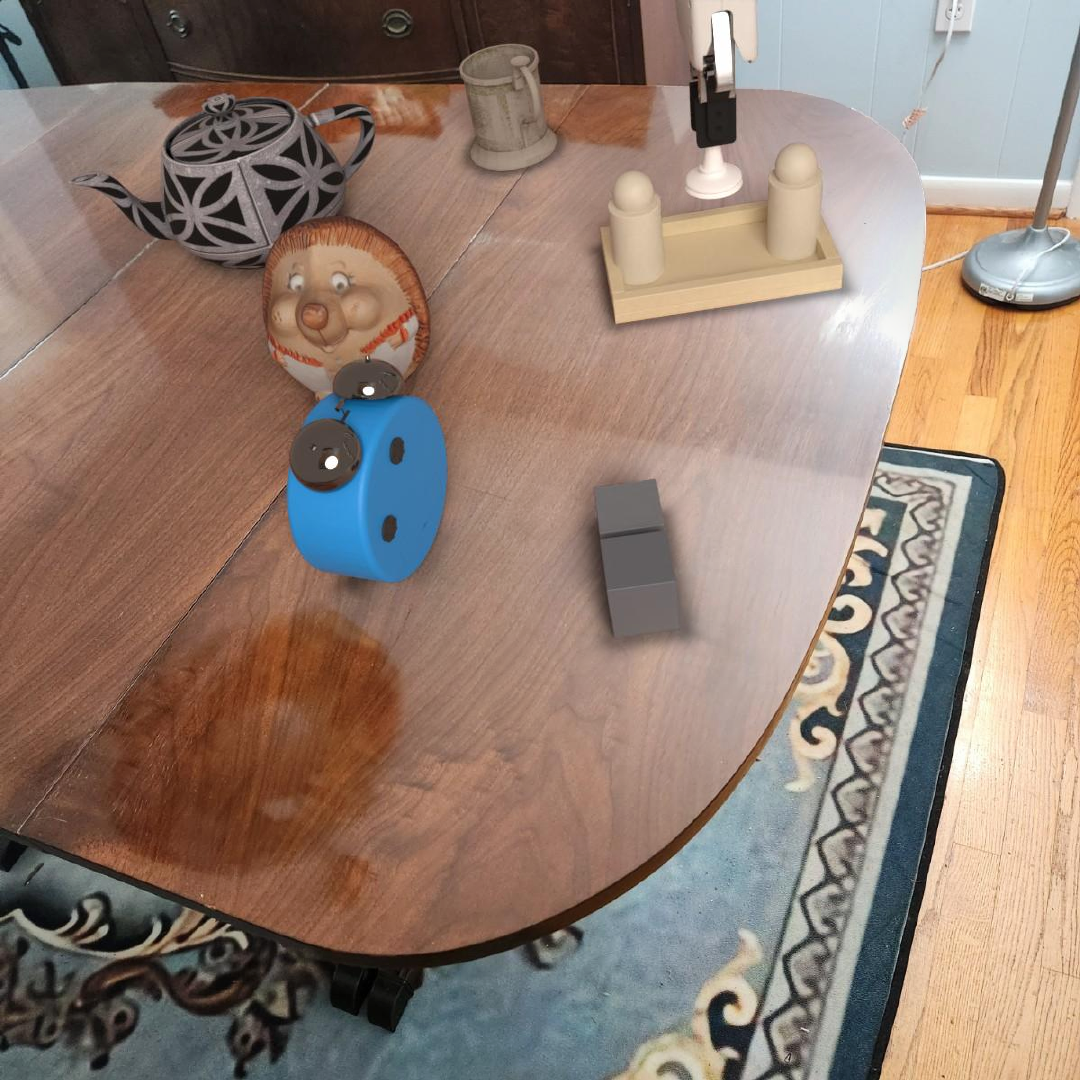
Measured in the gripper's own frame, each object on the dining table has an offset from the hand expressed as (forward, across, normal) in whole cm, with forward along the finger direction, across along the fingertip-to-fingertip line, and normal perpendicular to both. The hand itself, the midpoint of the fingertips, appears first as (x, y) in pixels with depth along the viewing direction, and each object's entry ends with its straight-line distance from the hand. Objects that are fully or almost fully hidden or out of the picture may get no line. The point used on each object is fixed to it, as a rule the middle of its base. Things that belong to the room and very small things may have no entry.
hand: (713, 134), depth 83 cm
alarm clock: (+13, -29, +29) cm, 43 cm away
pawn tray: (+13, 0, 0) cm, 13 cm away
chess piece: (+5, 0, 0) cm, 5 cm away
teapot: (+13, +19, +46) cm, 52 cm away
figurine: (+13, -8, +33) cm, 36 cm away
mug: (+13, +27, +17) cm, 35 cm away
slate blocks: (+13, -35, +12) cm, 39 cm away
